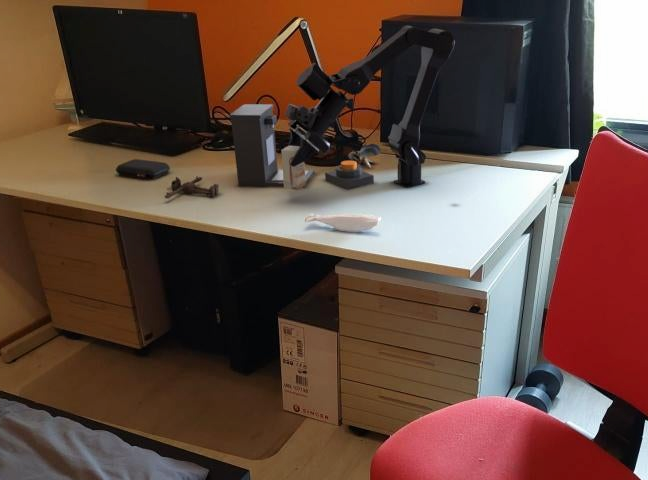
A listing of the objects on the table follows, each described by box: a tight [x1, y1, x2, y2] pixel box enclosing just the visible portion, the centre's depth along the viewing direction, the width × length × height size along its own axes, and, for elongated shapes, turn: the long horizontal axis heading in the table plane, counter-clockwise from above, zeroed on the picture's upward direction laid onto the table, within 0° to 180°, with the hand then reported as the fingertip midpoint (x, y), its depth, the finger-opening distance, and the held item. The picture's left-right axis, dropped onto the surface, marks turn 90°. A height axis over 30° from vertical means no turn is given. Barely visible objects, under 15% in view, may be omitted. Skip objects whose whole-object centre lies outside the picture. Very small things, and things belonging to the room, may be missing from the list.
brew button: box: [340, 160, 357, 170], centre depth 199 cm, size 4×4×2 cm
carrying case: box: [115, 158, 171, 180], centre depth 212 cm, size 11×3×15 cm
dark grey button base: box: [324, 164, 375, 190], centre depth 200 cm, size 11×9×4 cm
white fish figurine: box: [304, 212, 382, 233], centre depth 169 cm, size 6×18×4 cm, turn 71°
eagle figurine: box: [347, 143, 382, 169], centre depth 212 cm, size 8×7×9 cm
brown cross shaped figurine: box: [164, 175, 220, 199], centre depth 195 cm, size 18×4×14 cm
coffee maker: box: [228, 103, 315, 189], centre depth 199 cm, size 19×14×19 cm
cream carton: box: [280, 145, 307, 191], centre depth 185 cm, size 5×4×10 cm
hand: (288, 162), depth 184 cm, fingers closed on cream carton, 6 cm apart
